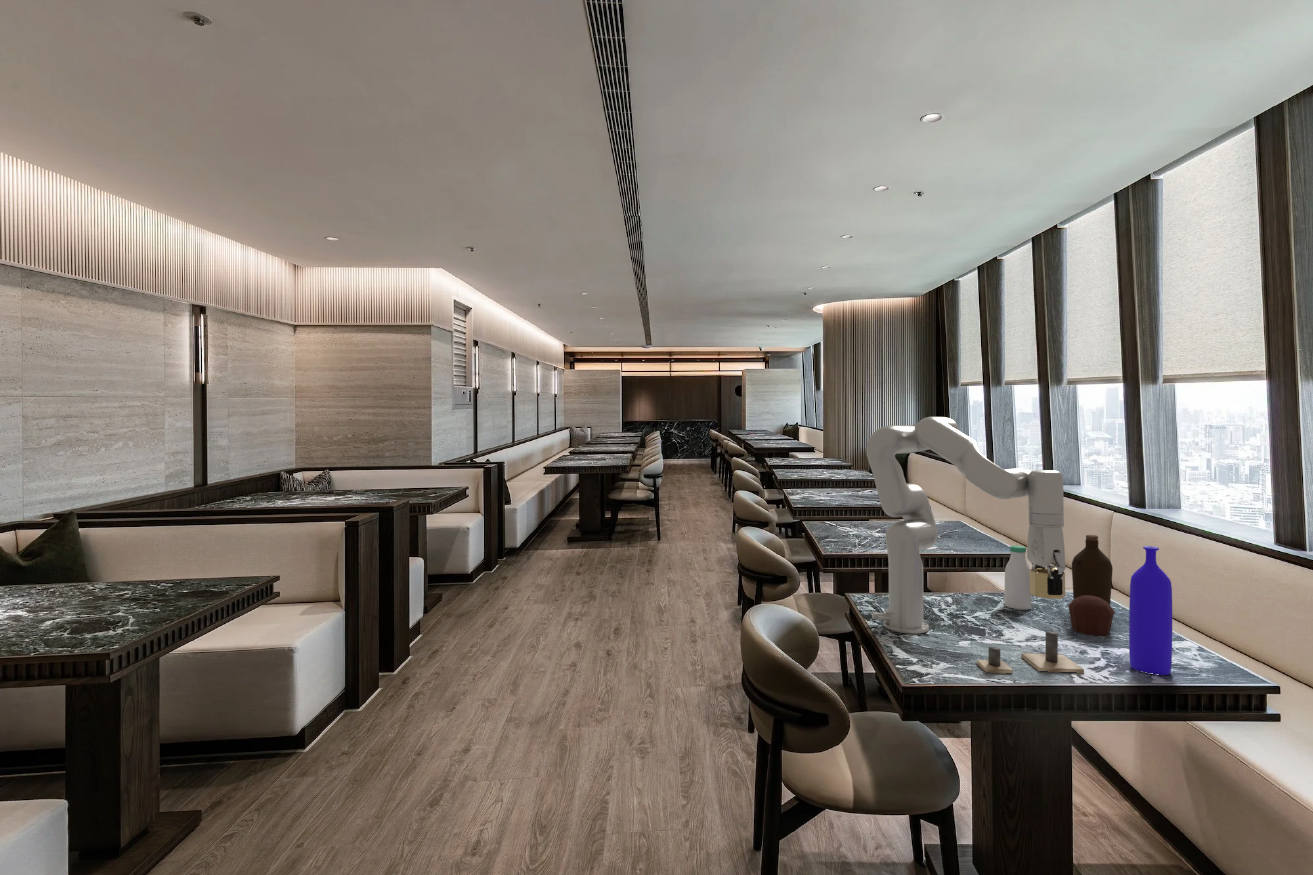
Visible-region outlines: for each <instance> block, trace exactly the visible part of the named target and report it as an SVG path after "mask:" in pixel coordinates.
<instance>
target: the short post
mask: <svg viewBox="0 0 1313 875" xmlns="http://www.w3.org/2000/svg"><path fill="white" fill-rule="evenodd" d="M987 650H988V659H976V664H977V665H978V666H979V667H980V668H981V669H982V670H983V671H984V672H985V673H986V672H987V674H1006V673H1013V670H1014V669H1013V668H1011V667H1010V666H1009V665H1008V664H1007V663H1006V662H1005V661H1003V660H1001V648H1000V647H997V646H988V649H987ZM988 672H989V673H988Z"/></svg>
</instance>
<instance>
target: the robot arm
mask: <svg viewBox="0 0 1313 875" xmlns="http://www.w3.org/2000/svg"><path fill="white" fill-rule="evenodd" d="M927 450H928V451H929V450H931V451H932V452H934V454H937V455H939V456H940V457H942V458H943V459H945V461H948V462H949V463H951V465H953V466H954V467H956V468H957V470H958V471H959V472H960V473H961V474H962V475H963V477H964V478H966V480H967V481H968V482H970V483H971V484H973V485H974V486H976V487H978V488H979V489H980V490H982V491H983V492H985V493H987V494H988V495H990V496H991V497H993V498H997V499H999V500H1010V499H1015V498H1023V497H1027V500H1028V502H1027V503H1028V530H1027V531H1028V532H1027V546H1026V560H1028V561H1029V562H1030V563H1031V569H1033V568H1047V571H1048V575H1049V578H1047V593H1048V594H1049V595H1062V594H1063V590H1062V579H1063V574H1064V572H1065V570H1066V568H1067V566H1066V563H1065V562H1066V561H1065V560H1066V558H1065V557H1066V553H1065V540H1064V531H1063V528H1064V527H1065V514H1064V512H1065V511H1064V510H1065V508H1064V501H1065V500H1064V476H1063V474H1062V472H1060V471H1058V470H1053V469H1052V470H1051V469H1049V470H1047V469H1045V470H1044V469H1041V470H1040V469H1039V470H1037V469H1035V470H1031V469H1027V468H1026V469H1025V468H1020V467H1019V468H1015V467H1014V468H1002V467H1001V466H999V465H997V464H996V463H994V462H992V461H991V460H989V459H988V458H986V457H985V456H984V455H983V454H982V453H981V452H980V451H979V444H978V442H977V441H976V440H975V439H973V438H972V437H970V436H968V435H966V434H965V433H963V432H961V431H960V428H959V426H958V423H957V422H956V421H955V420H953V419H952V418H949V417H946V416H928V417H924V418H922V419H921V420H919V421H918V422H917V423H915V424H914V423H913V424H910V425H909V424H907V425H901V424H900V425H898V424H896V425H895V424H894V425H892V424H891V425H885V426H882V427H880V428H877V429H876V430H875V431H874V432H873V433H872V434H871V436H870V437H869V439H868V441H867V444H866V457H867V461H868V463H869V467H870V470H871V472H872V475H873V480H874V484H875V487H876V492H877V494H878V495H877V496H878V498H879V503H880V505H881V509H882V510H883V512H884V513H885V514H886V515H887V516H889V517H892V518H898V517H902V519H903V520H900V521H896V522H894V523H892V524H891V525H890V526H889V527H888V528H887V531H886V533H885V544H886V545H885V546H886V550H887V557H888V558H887V559H888V560H887V561H888V608H886V609H885V611H883V612H871V617H872V620H878V621H881V622H883V625H882V626H883V627H884V628H885V629H887V630H889V631H892V632H896V633H901V634H909V635H911V634H915V635H917V634H924V633H926V632H928V631H929V630H930V626H929V624H928V623H927V622H925V621H924V564H923V561H922V557H921V553H920V551H924V550H925V551H926V550H928V549H930V548H932V547H933V546H934V545H935V544H936V542H937V539H938V529H937V528H938V527H937V524H936V521H935V517H934V514H933V512H932V507H931V504H930V500H929V497H928V496H927V493H926V492H925V490H924V489H923V488H921V487H920V486H919V485H917V484H915V483H907V482H906V478H905V476H904V470H903V469H902V465H901V464H900V463H899V461H898V459H896V454H912V453H917V452H924V451H927ZM1052 569H1055V570H1054V571H1053V572H1052Z"/></svg>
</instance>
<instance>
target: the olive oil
mask: <svg viewBox="0 0 1313 875" xmlns="http://www.w3.org/2000/svg"><path fill="white" fill-rule="evenodd" d="M1084 541H1085V547H1084V548H1083V549H1082V550H1080V551H1079V552H1078V553H1077V554H1076V555H1074V557H1073V558H1072V561H1071V576H1072V577H1071V578H1072V596H1073V598H1072V601H1073V600H1074V599H1075V598H1077V597H1080V596H1084V595H1091V596H1096V597H1099V598H1101V599H1103V600H1105V601H1106V602H1107V603H1108V604H1109V605H1110V606H1111V598H1112V597H1111V596H1112V580H1113V569H1114V568H1113V564H1112V562H1111V560H1110V558H1109V557H1108V556H1107V555H1106V554H1105V553H1104V552H1103V551H1101V549H1100V548H1099V536H1098V535H1093V534H1086V535H1085V540H1084Z"/></svg>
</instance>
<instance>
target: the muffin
mask: <svg viewBox="0 0 1313 875" xmlns="http://www.w3.org/2000/svg"><path fill="white" fill-rule="evenodd" d="M1067 607H1068V612H1069V618H1070V622H1071V623H1070V624H1071V627H1072V628H1071V629H1072V630H1074V631H1075V632H1076V633H1079V634H1084V635H1086V636H1095V637H1107V636H1108V635H1110V633H1111V629H1112V626H1113V625H1112V624H1113V620H1114V619H1113V618H1114V615H1115V614H1116V612H1115V610H1114V609H1113V607H1112V606H1111V604H1110V605H1109V604H1108V603H1107V602H1106V601H1105V600H1103V599H1101V598H1099V597H1096V596H1091V595H1084V596H1080V597H1077V598H1075V599H1074V600H1073V599H1072V600H1071V602H1070V603H1069V604H1068V605H1067Z"/></svg>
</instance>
